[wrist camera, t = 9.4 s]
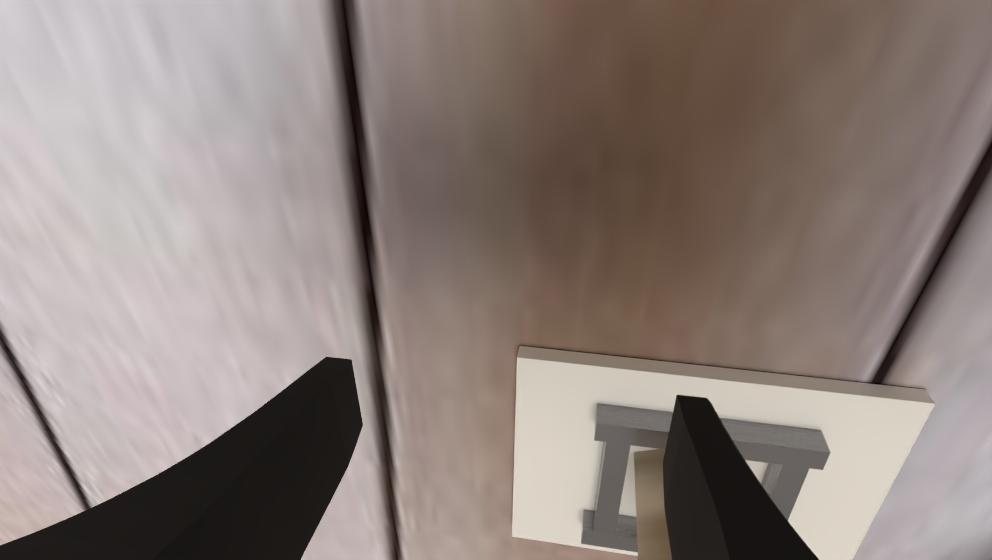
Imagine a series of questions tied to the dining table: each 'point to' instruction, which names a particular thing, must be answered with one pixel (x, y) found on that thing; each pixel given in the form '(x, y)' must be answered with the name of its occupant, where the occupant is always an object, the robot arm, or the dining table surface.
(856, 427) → the socket board
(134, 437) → the dining table surface
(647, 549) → the birch block
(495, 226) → the dining table surface
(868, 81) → the dining table surface
